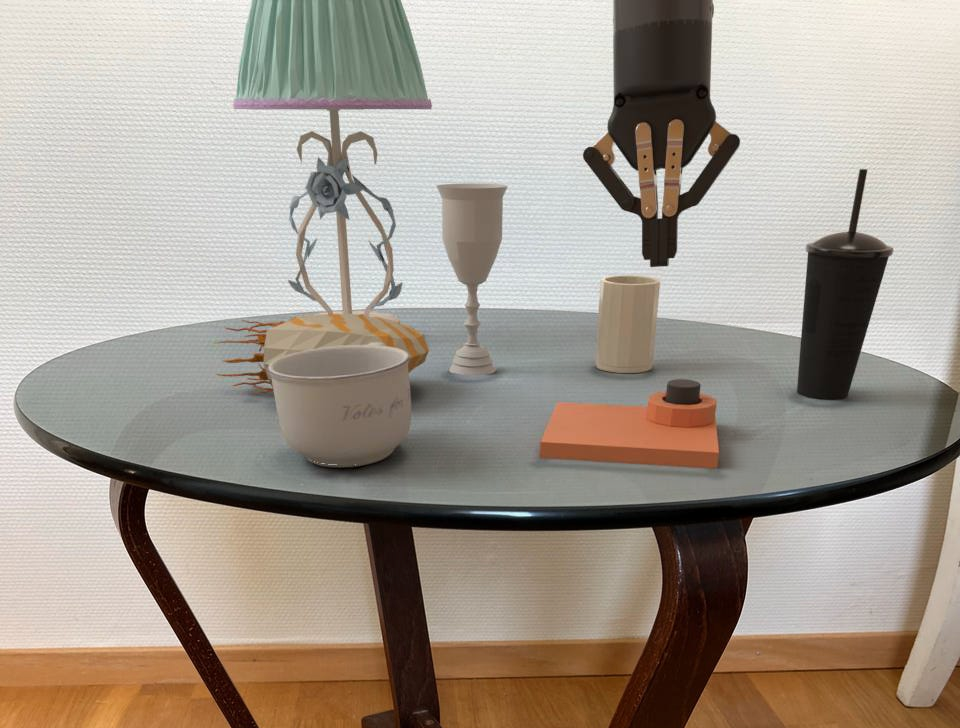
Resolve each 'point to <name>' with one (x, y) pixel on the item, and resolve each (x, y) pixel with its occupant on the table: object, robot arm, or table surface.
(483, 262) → the chalice
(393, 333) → the nautilus
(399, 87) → the table lamp
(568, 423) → the scale
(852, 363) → the drinking cup
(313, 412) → the teacup
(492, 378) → the table surface
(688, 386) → the button
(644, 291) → the cup
